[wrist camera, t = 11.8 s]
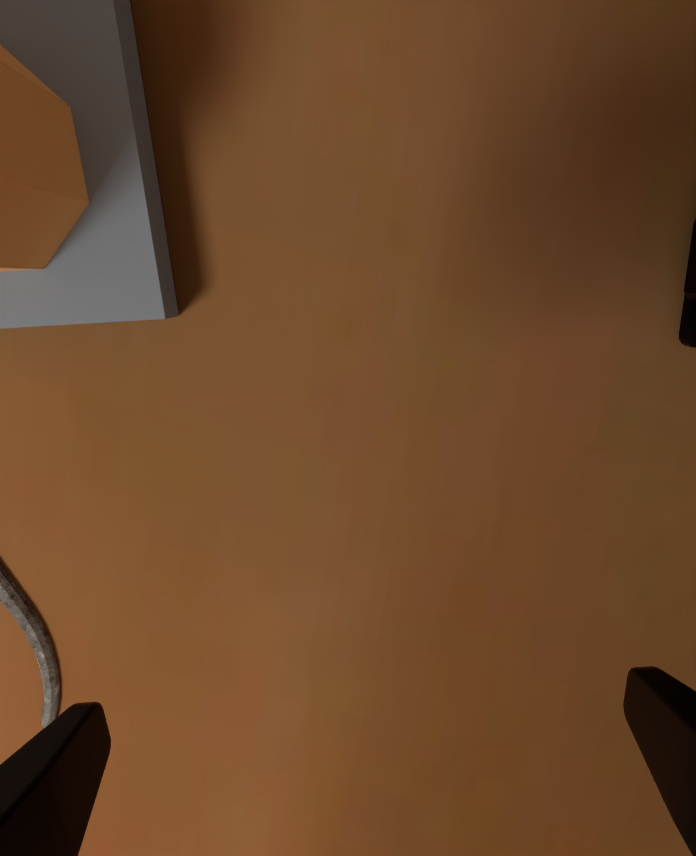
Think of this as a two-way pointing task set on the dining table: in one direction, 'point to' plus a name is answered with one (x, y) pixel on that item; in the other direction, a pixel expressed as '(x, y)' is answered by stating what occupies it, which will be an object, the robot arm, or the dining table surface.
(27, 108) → the collar
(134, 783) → the dining table surface
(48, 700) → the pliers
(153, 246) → the pin base
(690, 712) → the robot arm
